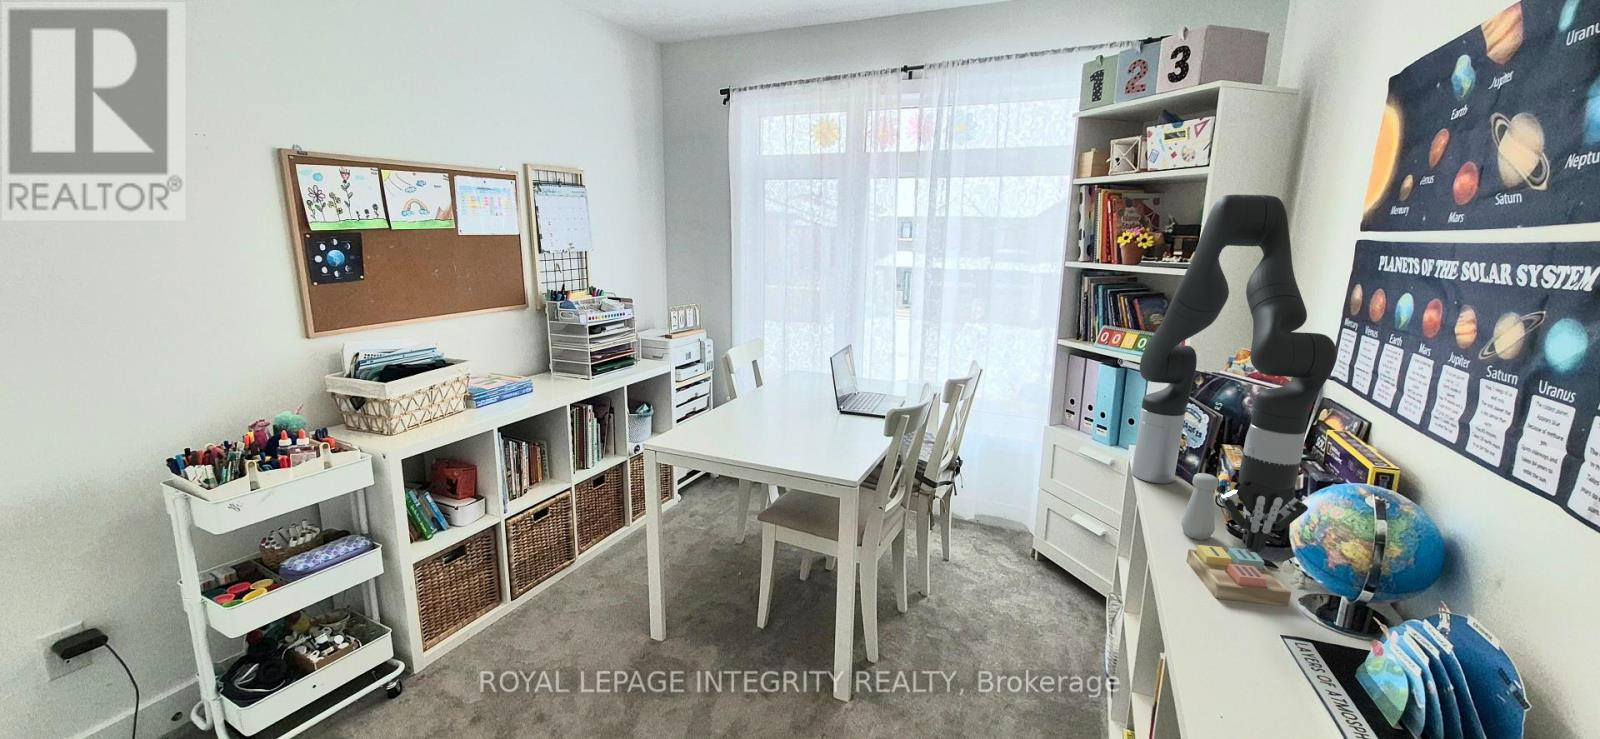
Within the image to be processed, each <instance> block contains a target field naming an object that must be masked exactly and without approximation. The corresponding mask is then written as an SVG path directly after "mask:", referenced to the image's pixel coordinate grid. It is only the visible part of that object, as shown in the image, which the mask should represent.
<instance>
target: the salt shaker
mask: <svg viewBox="0 0 1600 739" xmlns="http://www.w3.org/2000/svg"><path fill="white" fill-rule="evenodd" d="M1192 485H1193V486H1194V488H1193V491H1192V493H1191V495H1190V499H1189V501H1188V503H1187V507H1186V508H1185V511H1184V513H1183V516H1182V518H1181V521H1180V525H1181V528H1182V532H1183V534H1184V535H1186V536H1187V537H1188V538H1191V539H1193V538H1194V539H1193V540H1197V539H1198V541H1203V540H1204V539H1206V540H1208V539H1209V538H1210V537H1211V536H1212V535H1213V533H1214V532H1215V529H1216V525H1215V524H1216V523H1215V502H1214V499H1215V498H1214V491H1215V490H1217V489H1218V487H1219V479H1218V478H1217V476H1214V475H1213V474H1209V473H1204V472H1198V473H1196V474H1194V475H1193V478H1192ZM1204 541H1205V540H1204Z"/></svg>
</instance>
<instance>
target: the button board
mask: <svg viewBox="0 0 1600 739" xmlns="http://www.w3.org/2000/svg"><path fill="white" fill-rule="evenodd" d="M1196 550H1197V549H1190V548H1189V549H1188V550H1187V551H1188V552H1187V557H1186V563H1187V564H1188V565H1189V566H1190V568H1191V569H1192V570H1193V572H1194V573H1195V572H1196V573H1195V575H1197V576H1199V577H1200V578H1199V577H1198V578H1199V579H1200V580H1201V581H1203V582H1204V583H1203V582H1202V583H1203V584H1204V586H1206V588H1207V589H1208V590H1209V591H1210V592H1209V593H1211V595H1212V596H1213V597H1214V598H1215V599H1218V600H1228V601H1236V602H1247V603H1256V604H1257V603H1258V604H1267V605H1274V606H1275V605H1276V606H1285V607H1288V606H1289V604H1290V600H1291V597H1292V596H1291V595H1292V592H1291V591H1290V590H1289V589H1288V587H1286V586H1285V584H1283V583H1282V581H1280V580H1279V578H1278V577H1276V576H1275V575H1274V573H1272V572H1271V571H1270V569H1268V568H1267V566H1265V565H1264V567H1263V570H1258V571H1259V572H1260V573H1261V574H1262V575H1263V576H1264V577H1265V578H1266V579H1267V580H1266V584H1265V588H1259V587H1249V586H1239V585H1237V584H1236V583H1235V582H1234V581H1233V580H1232V579H1231V577H1230V576H1229V575H1228V574H1227V570H1228V567H1225V566H1214V565H1205V564H1204V563H1203V562H1202V561H1201V560H1200V558H1199V557H1198V556H1197V555H1196ZM1231 564H1233V563H1232V562H1231Z"/></svg>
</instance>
